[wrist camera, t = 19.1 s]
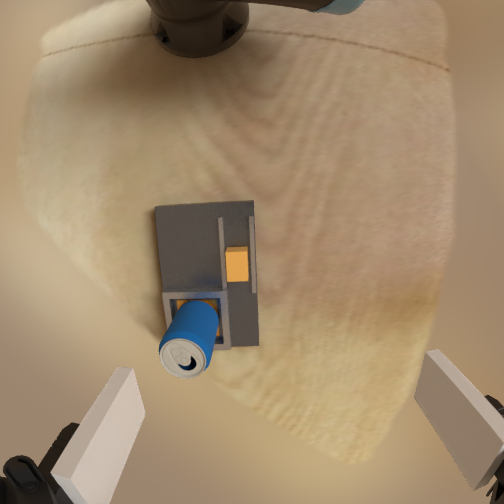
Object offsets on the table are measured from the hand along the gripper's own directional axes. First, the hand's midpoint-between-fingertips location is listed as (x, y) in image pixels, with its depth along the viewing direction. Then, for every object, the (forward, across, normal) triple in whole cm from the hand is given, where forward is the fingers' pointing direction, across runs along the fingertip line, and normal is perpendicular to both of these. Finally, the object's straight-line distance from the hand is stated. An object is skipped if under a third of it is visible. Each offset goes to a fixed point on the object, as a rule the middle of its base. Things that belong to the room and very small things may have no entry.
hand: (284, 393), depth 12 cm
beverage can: (+33, -10, -11) cm, 36 cm away
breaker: (+32, -3, -2) cm, 33 cm away
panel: (+35, -8, -5) cm, 36 cm away
